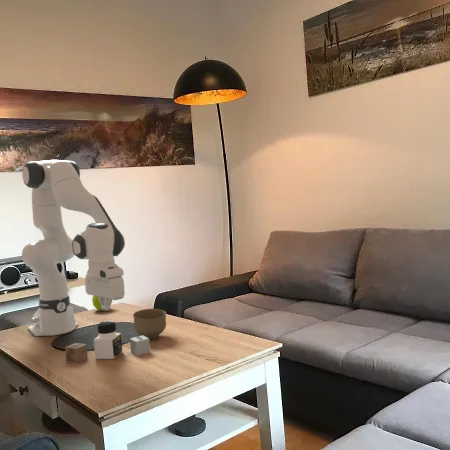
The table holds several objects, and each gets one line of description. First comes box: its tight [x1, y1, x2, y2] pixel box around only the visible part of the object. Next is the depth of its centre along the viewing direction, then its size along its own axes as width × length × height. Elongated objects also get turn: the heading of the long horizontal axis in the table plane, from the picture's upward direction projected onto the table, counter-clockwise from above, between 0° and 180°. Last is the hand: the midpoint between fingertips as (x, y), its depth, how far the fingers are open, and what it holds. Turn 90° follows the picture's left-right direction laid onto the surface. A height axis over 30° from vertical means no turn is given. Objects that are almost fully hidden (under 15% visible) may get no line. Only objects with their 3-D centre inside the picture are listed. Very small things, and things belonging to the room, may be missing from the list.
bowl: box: [132, 308, 167, 340], centre depth 189 cm, size 13×13×10 cm
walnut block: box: [64, 342, 89, 364], centre depth 170 cm, size 5×5×5 cm
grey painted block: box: [129, 335, 151, 356], centre depth 174 cm, size 5×5×5 cm
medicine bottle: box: [93, 320, 123, 360], centre depth 172 cm, size 7×7×12 cm
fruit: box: [91, 295, 113, 312], centre depth 238 cm, size 9×9×10 cm
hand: (105, 309), depth 171 cm, fingers closed
